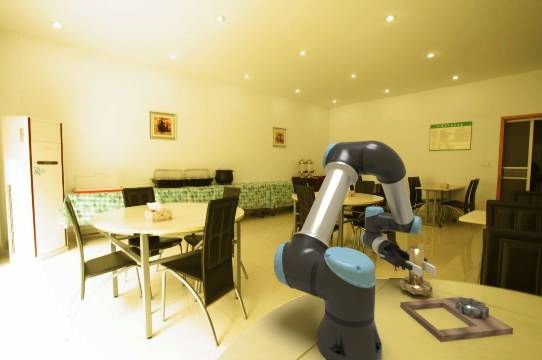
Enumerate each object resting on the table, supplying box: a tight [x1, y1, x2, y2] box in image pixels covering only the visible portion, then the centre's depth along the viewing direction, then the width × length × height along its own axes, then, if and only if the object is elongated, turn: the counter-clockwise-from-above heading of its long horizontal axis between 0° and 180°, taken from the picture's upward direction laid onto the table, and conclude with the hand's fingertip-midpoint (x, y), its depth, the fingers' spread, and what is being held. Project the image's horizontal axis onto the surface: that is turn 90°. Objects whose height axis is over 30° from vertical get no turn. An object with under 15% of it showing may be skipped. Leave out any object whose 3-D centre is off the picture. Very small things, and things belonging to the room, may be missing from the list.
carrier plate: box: [399, 296, 514, 343], centre depth 74 cm, size 21×16×2 cm
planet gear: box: [399, 245, 434, 296], centre depth 88 cm, size 10×10×14 cm
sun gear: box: [455, 296, 490, 320], centre depth 75 cm, size 8×8×2 cm
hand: (427, 271), depth 83 cm, fingers closed on planet gear, 4 cm apart
